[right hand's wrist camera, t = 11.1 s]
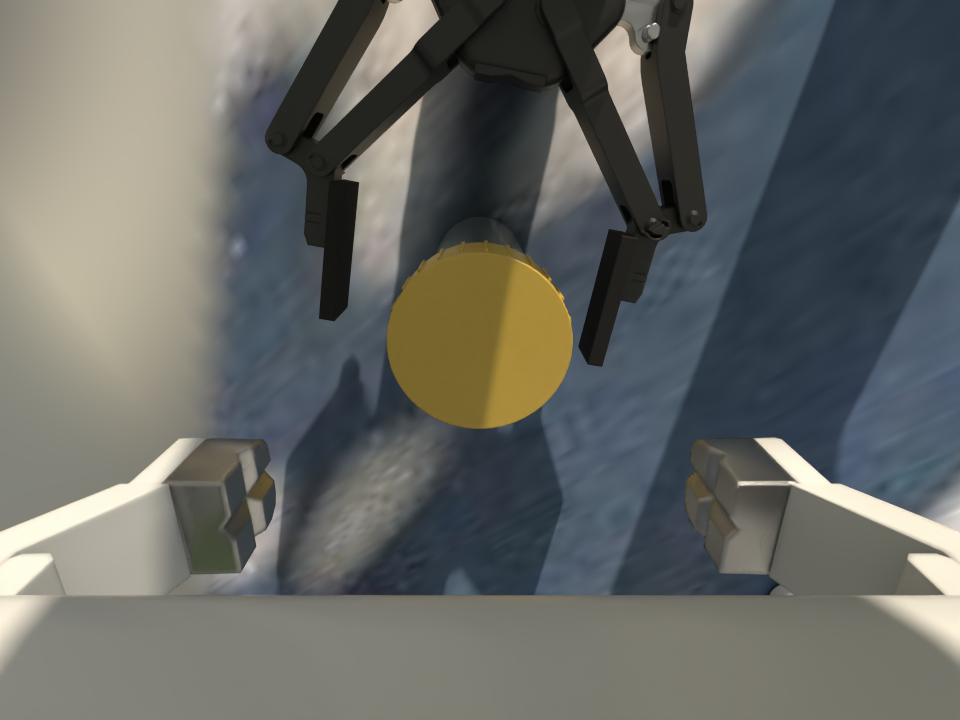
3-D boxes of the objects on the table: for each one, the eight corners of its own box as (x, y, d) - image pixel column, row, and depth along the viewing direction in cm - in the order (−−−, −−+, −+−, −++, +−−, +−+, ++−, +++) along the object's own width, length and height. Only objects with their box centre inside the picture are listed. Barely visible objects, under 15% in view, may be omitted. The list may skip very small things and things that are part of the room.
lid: (373, 369, 20) (359, 394, 17) (429, 211, 18) (421, 218, 15) (523, 423, 20) (528, 454, 18) (593, 278, 18) (608, 294, 16)
